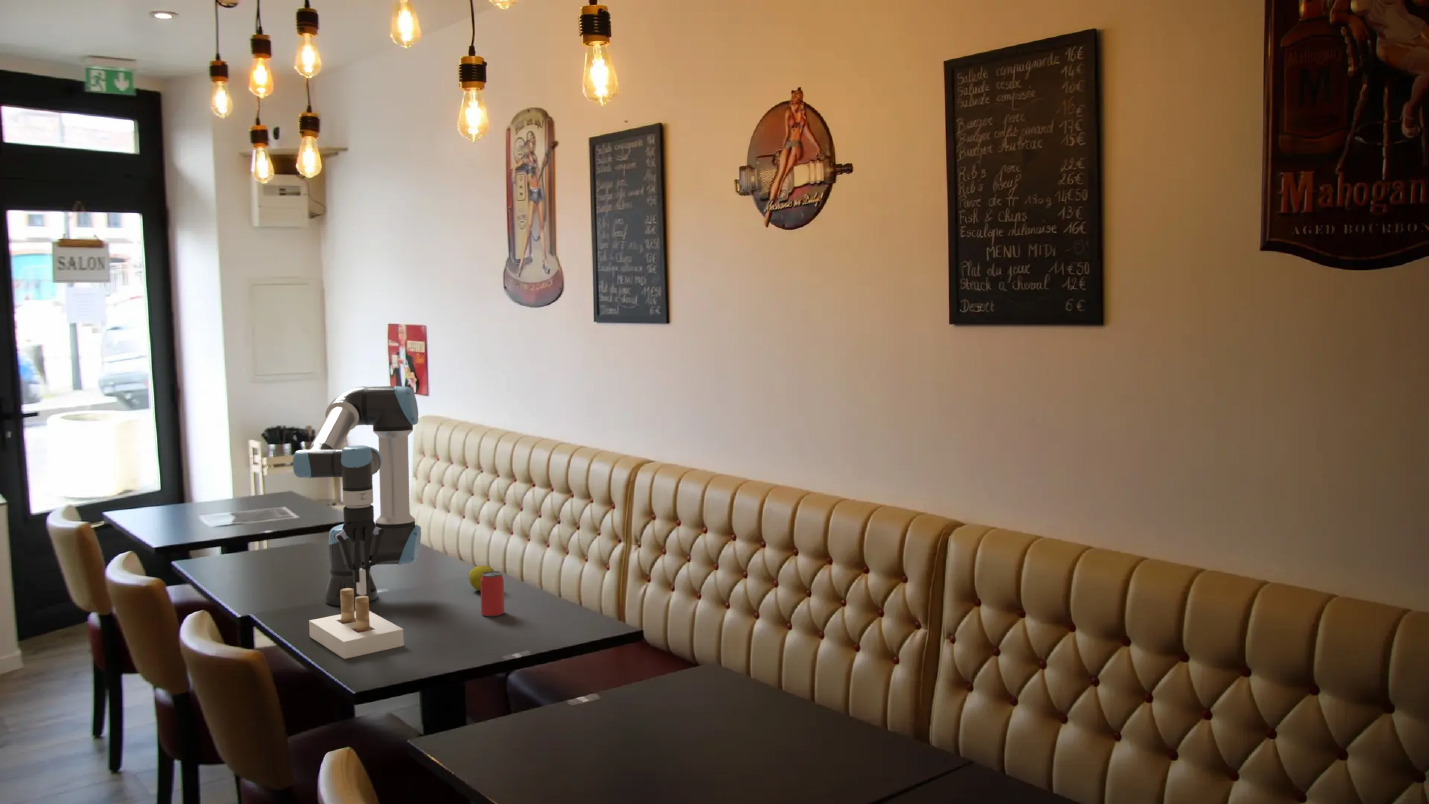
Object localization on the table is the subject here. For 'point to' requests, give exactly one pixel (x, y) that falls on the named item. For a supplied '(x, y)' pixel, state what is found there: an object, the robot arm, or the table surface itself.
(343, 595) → the seated peg
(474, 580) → the lemon
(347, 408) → the robot arm
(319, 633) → the off-white board
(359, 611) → the honey-oak peg
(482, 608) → the beer can
